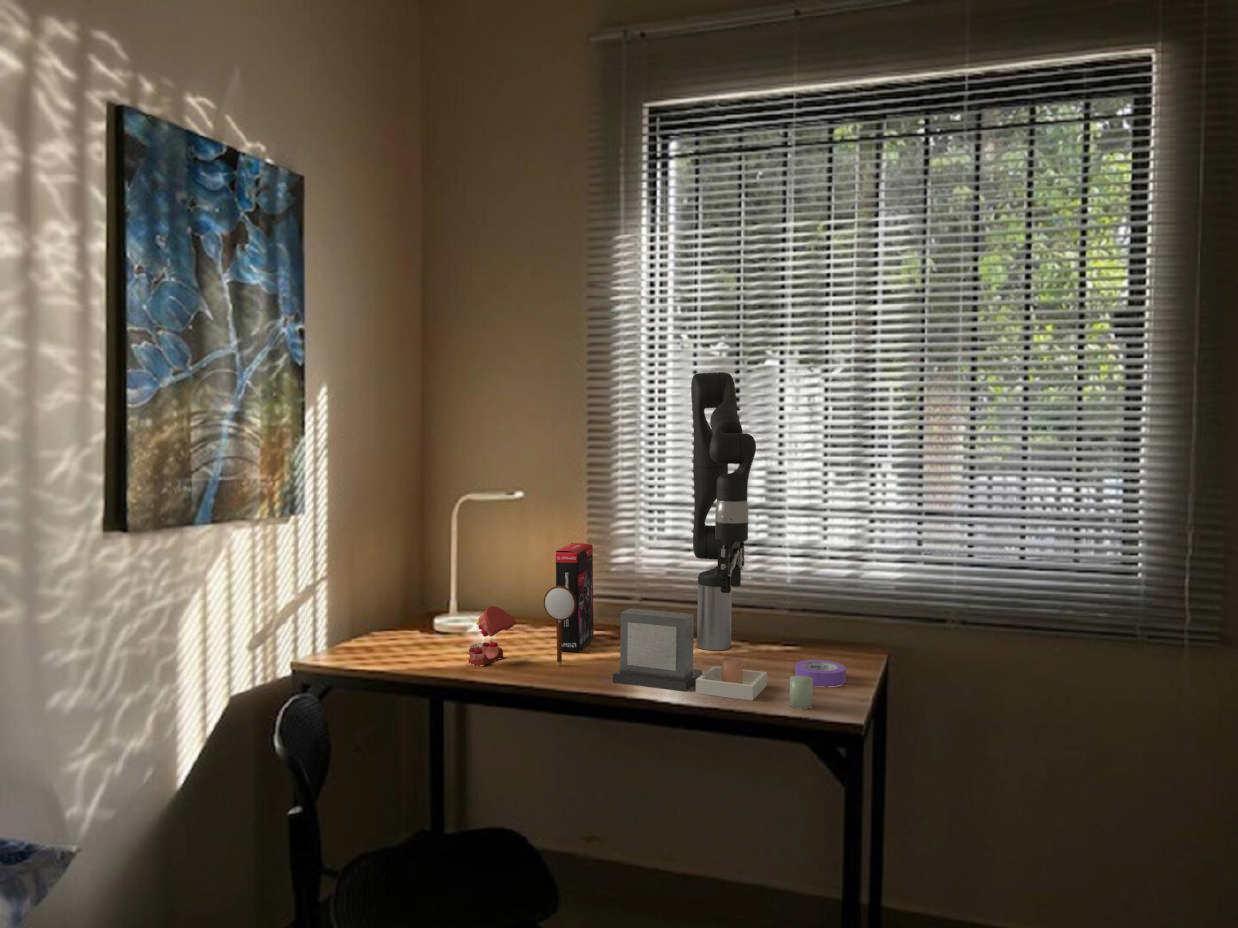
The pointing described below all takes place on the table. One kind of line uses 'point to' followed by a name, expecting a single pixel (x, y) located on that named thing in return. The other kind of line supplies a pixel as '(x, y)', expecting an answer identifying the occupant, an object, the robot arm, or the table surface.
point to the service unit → (657, 650)
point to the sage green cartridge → (801, 692)
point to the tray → (731, 684)
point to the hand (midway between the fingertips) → (730, 589)
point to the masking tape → (822, 672)
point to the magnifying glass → (559, 610)
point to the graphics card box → (577, 593)
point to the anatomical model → (490, 625)
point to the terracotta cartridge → (732, 670)
